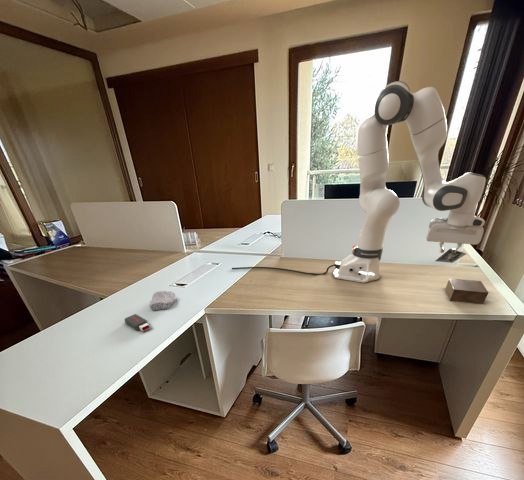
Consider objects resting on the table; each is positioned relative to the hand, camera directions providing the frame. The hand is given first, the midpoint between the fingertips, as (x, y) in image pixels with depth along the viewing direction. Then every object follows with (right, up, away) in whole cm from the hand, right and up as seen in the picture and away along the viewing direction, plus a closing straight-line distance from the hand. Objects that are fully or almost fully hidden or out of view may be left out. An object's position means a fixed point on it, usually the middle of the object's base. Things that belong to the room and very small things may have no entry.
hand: (447, 252), depth 125 cm
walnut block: (+4, -20, -4) cm, 21 cm away
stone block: (-126, -22, +3) cm, 127 cm away
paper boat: (+4, -4, 0) cm, 5 cm away
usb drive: (-131, -33, -12) cm, 135 cm away
